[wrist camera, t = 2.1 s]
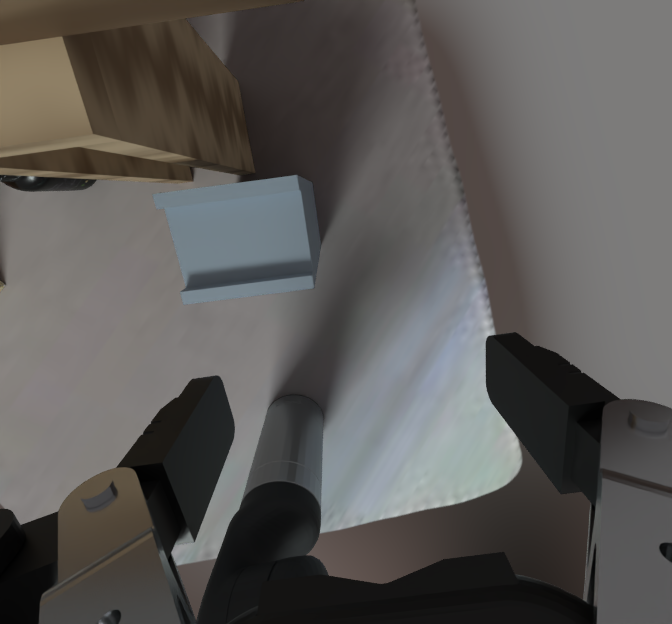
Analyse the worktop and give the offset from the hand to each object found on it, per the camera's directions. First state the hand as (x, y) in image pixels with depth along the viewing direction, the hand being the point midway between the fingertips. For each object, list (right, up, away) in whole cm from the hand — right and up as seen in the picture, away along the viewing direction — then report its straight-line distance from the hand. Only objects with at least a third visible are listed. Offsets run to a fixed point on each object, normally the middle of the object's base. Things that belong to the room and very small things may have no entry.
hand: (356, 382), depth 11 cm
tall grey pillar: (-8, +14, +36) cm, 39 cm away
